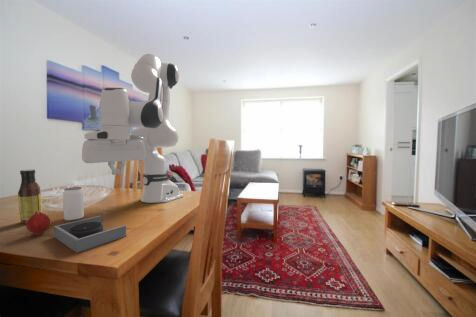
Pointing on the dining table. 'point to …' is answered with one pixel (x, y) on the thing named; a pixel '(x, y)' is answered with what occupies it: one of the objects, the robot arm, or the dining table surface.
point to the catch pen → (89, 241)
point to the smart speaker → (86, 229)
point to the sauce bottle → (29, 195)
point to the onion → (38, 223)
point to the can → (73, 203)
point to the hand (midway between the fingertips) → (117, 174)
